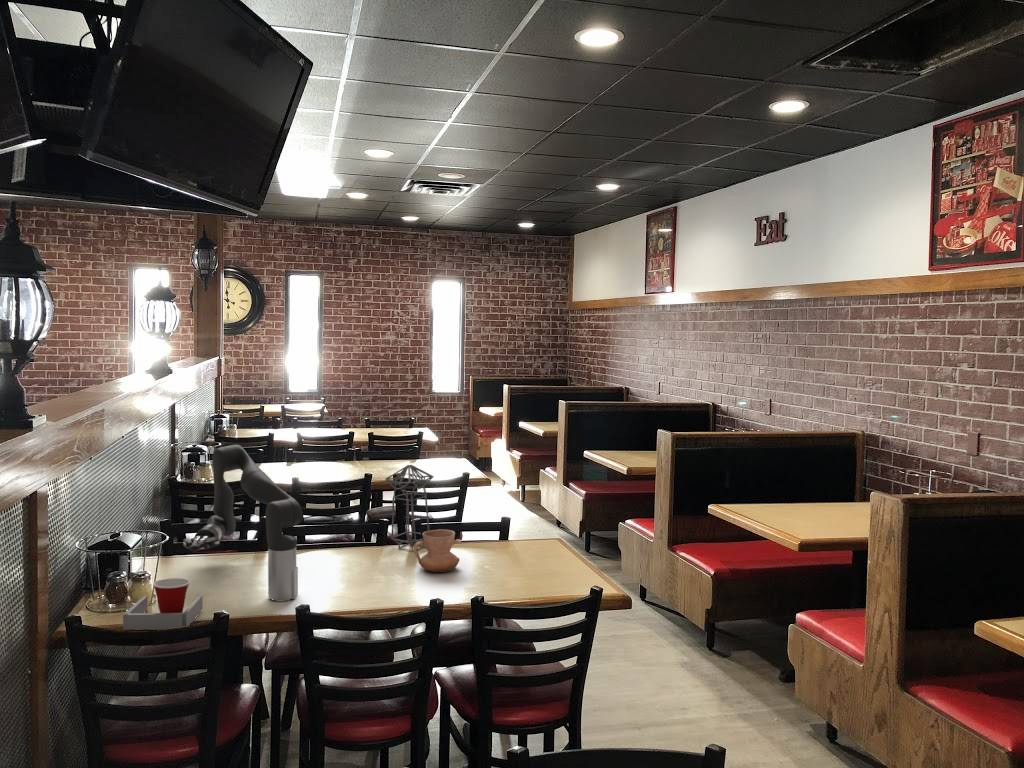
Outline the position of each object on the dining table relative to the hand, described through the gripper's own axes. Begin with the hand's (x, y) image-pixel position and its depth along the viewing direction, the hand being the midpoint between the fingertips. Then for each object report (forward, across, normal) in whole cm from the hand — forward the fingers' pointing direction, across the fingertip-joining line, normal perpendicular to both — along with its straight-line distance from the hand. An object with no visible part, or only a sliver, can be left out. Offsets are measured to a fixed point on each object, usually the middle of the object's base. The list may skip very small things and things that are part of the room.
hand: (193, 549), depth 275 cm
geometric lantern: (-50, +72, +15) cm, 88 cm away
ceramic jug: (-21, +84, +16) cm, 87 cm away
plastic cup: (+27, +1, +15) cm, 31 cm away
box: (+28, 0, +15) cm, 32 cm away
